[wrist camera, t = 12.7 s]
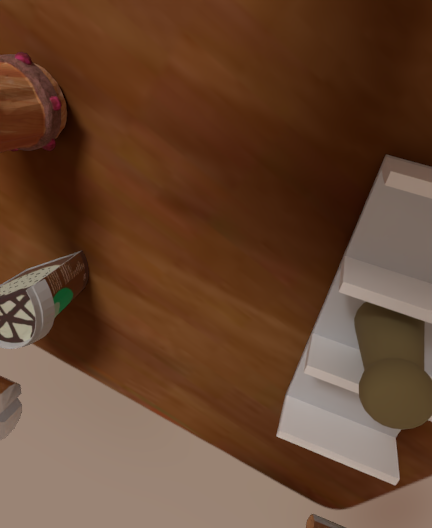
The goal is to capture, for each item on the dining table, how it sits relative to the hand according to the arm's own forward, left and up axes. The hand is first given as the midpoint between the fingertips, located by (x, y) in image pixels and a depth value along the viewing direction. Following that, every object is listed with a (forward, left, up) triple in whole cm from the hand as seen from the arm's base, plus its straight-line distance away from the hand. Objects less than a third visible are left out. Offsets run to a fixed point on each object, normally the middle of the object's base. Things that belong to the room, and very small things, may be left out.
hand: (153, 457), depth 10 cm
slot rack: (+10, +12, -29) cm, 33 cm away
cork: (+10, +12, -28) cm, 32 cm away
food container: (+20, -23, -29) cm, 42 cm away
